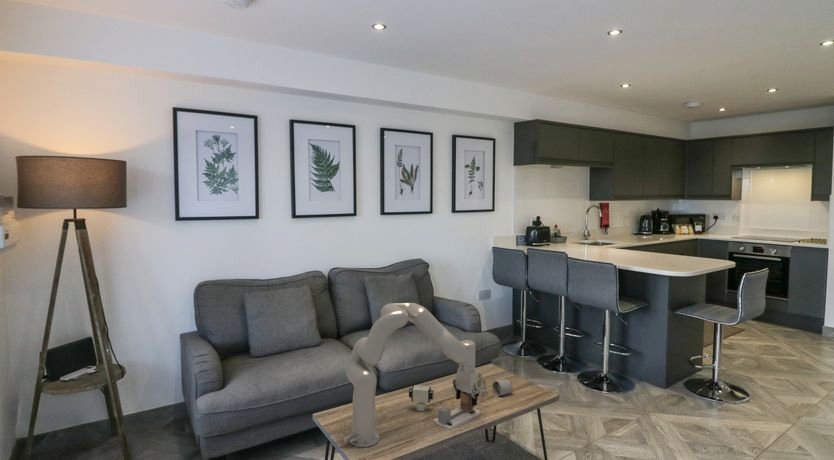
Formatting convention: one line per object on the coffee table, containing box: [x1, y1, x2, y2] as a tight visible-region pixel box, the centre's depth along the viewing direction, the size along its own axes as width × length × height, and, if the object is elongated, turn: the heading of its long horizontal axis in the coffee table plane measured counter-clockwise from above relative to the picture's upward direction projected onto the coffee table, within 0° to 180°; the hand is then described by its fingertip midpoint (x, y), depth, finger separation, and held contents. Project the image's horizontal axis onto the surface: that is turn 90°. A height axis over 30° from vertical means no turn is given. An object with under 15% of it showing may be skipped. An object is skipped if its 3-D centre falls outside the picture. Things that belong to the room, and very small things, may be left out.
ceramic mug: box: [492, 379, 513, 397], centre depth 240 cm, size 11×8×8 cm
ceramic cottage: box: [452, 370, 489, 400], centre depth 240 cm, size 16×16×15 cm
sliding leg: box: [460, 391, 475, 412], centre depth 216 cm, size 5×7×8 cm
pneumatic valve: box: [408, 384, 435, 412], centre depth 222 cm, size 6×12×12 cm, turn 78°
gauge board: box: [432, 405, 482, 431], centre depth 213 cm, size 22×10×7 cm, turn 134°
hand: (466, 401), depth 217 cm, fingers open, 9 cm apart
